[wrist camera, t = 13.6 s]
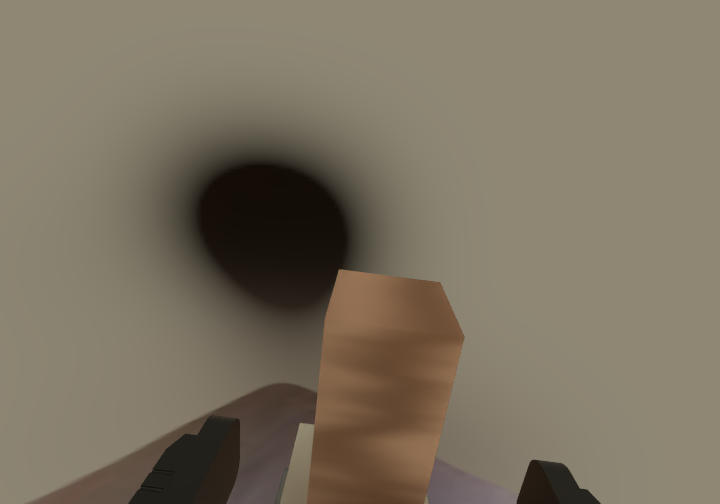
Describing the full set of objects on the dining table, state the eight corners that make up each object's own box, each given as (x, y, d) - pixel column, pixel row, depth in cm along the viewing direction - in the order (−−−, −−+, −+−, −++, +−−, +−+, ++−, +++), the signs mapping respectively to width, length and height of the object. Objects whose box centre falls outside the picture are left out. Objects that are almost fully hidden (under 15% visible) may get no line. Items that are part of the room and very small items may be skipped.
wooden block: (305, 518, 16) (324, 319, 12) (322, 429, 20) (339, 269, 17) (417, 533, 15) (464, 337, 12) (407, 440, 20) (440, 282, 17)
